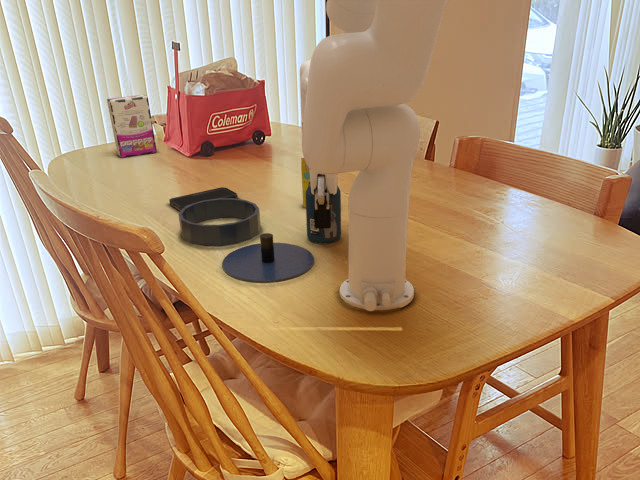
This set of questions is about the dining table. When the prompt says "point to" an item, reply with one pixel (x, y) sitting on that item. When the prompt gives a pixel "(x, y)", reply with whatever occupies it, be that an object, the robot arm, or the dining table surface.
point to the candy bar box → (132, 125)
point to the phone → (201, 197)
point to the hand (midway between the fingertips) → (323, 220)
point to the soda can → (335, 231)
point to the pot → (222, 232)
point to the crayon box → (305, 179)
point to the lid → (268, 261)
